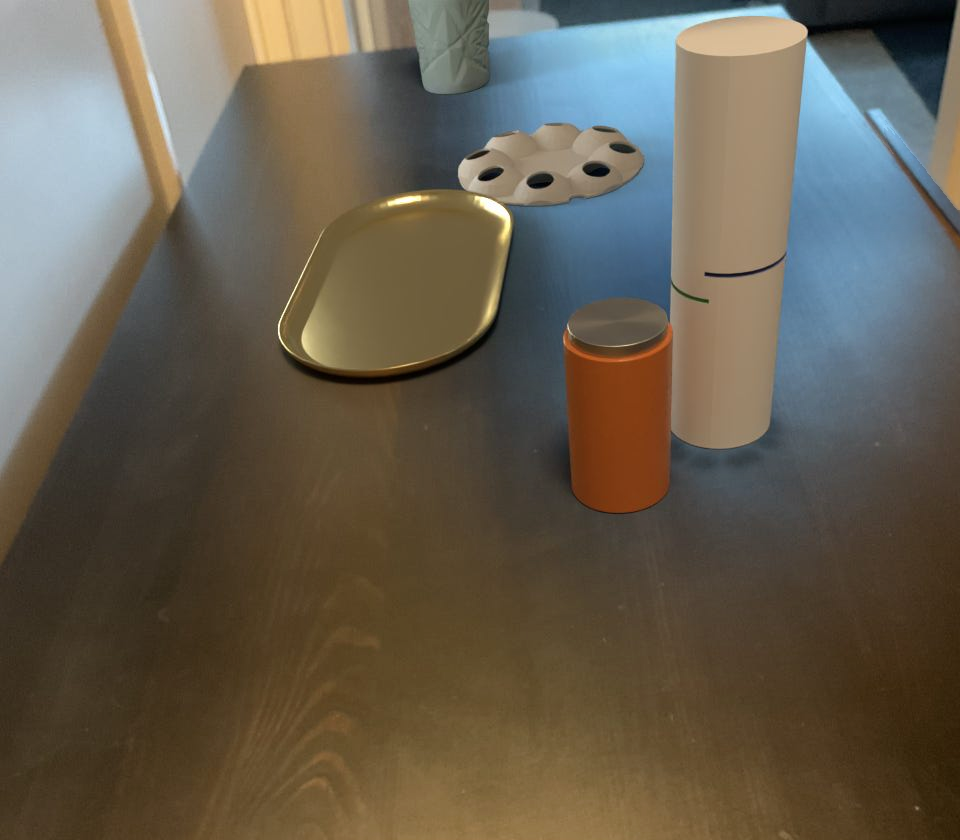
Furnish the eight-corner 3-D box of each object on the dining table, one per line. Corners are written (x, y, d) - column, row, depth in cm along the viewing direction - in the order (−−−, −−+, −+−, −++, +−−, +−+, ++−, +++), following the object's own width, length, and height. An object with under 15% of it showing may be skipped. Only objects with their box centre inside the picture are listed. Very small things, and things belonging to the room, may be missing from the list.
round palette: (649, 128, 119) (649, 109, 118) (636, 202, 106) (636, 182, 104) (476, 136, 123) (474, 118, 122) (442, 208, 109) (439, 189, 108)
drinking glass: (402, 87, 138) (387, -19, 130) (461, 64, 143) (449, -40, 134) (455, 101, 132) (442, -10, 124) (514, 76, 137) (505, -32, 129)
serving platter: (258, 391, 87) (253, 374, 86) (342, 210, 112) (339, 195, 111) (488, 383, 84) (486, 365, 83) (522, 199, 109) (521, 183, 108)
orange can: (659, 450, 75) (661, 288, 67) (679, 506, 71) (683, 340, 62) (565, 462, 76) (556, 302, 67) (578, 519, 71) (570, 355, 63)
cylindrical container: (762, 453, 74) (799, 55, 57) (658, 443, 76) (663, 56, 59) (776, 397, 79) (814, 14, 61) (679, 389, 81) (689, 17, 63)
